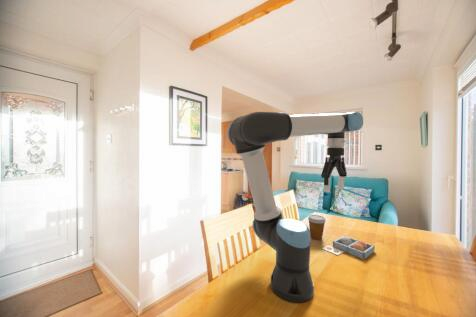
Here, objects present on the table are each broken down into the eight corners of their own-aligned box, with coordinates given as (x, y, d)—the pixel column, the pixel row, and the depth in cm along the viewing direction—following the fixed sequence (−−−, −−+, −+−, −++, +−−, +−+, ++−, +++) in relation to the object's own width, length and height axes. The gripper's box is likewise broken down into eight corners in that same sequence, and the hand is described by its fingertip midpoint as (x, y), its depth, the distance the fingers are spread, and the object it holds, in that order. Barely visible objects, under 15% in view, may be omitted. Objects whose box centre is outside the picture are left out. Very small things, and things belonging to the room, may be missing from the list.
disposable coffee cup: (327, 241, 111) (328, 220, 111) (310, 241, 111) (311, 219, 111) (321, 234, 121) (321, 214, 120) (305, 234, 121) (305, 214, 121)
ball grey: (348, 249, 102) (349, 240, 102) (339, 246, 106) (339, 236, 106) (353, 247, 105) (353, 237, 105) (343, 243, 109) (343, 234, 109)
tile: (337, 255, 96) (337, 254, 96) (322, 248, 103) (322, 247, 103) (343, 252, 100) (343, 251, 100) (328, 245, 106) (328, 244, 106)
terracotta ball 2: (364, 252, 98) (364, 241, 99) (353, 249, 102) (353, 239, 103) (369, 252, 100) (369, 241, 101) (358, 249, 104) (358, 239, 106)
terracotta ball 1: (362, 257, 95) (360, 246, 95) (351, 254, 99) (349, 244, 99) (366, 253, 98) (365, 243, 98) (355, 250, 102) (354, 240, 102)
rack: (364, 259, 93) (364, 253, 93) (332, 247, 105) (332, 241, 105) (374, 251, 101) (374, 245, 101) (344, 240, 113) (344, 235, 112)
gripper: (329, 146, 87) (328, 194, 88) (355, 148, 102) (353, 189, 103) (314, 146, 93) (312, 191, 94) (340, 148, 108) (338, 187, 109)
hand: (334, 190), depth 99 cm, fingers open, 13 cm apart
